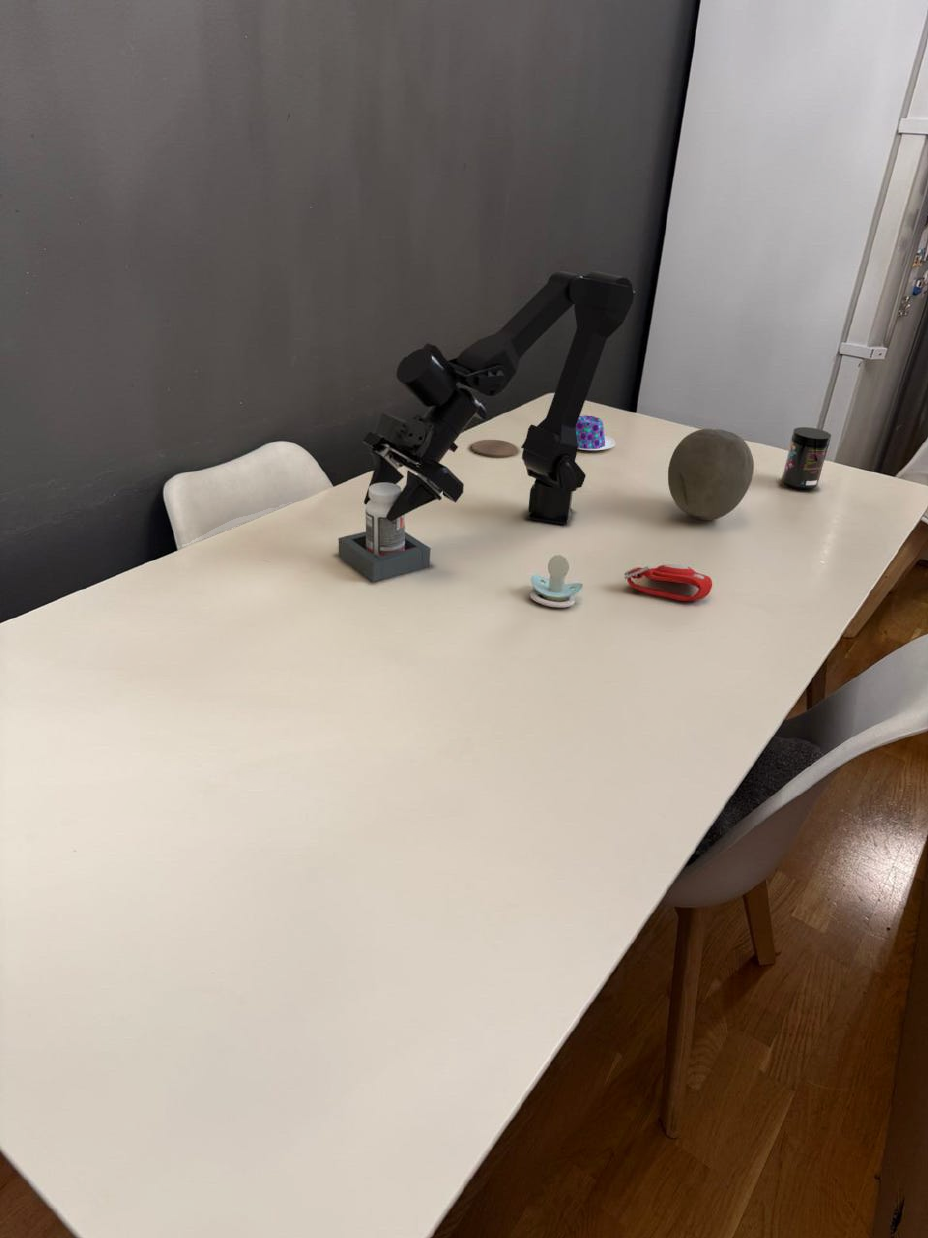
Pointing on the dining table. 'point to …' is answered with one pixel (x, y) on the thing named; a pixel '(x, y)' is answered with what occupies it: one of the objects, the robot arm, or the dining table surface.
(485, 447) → the coaster
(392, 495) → the pill bottle
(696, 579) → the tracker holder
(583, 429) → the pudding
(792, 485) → the supplement container
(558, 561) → the pacifier
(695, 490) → the grey brown round stone
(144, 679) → the dining table surface
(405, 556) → the bottle stand
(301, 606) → the dining table surface
